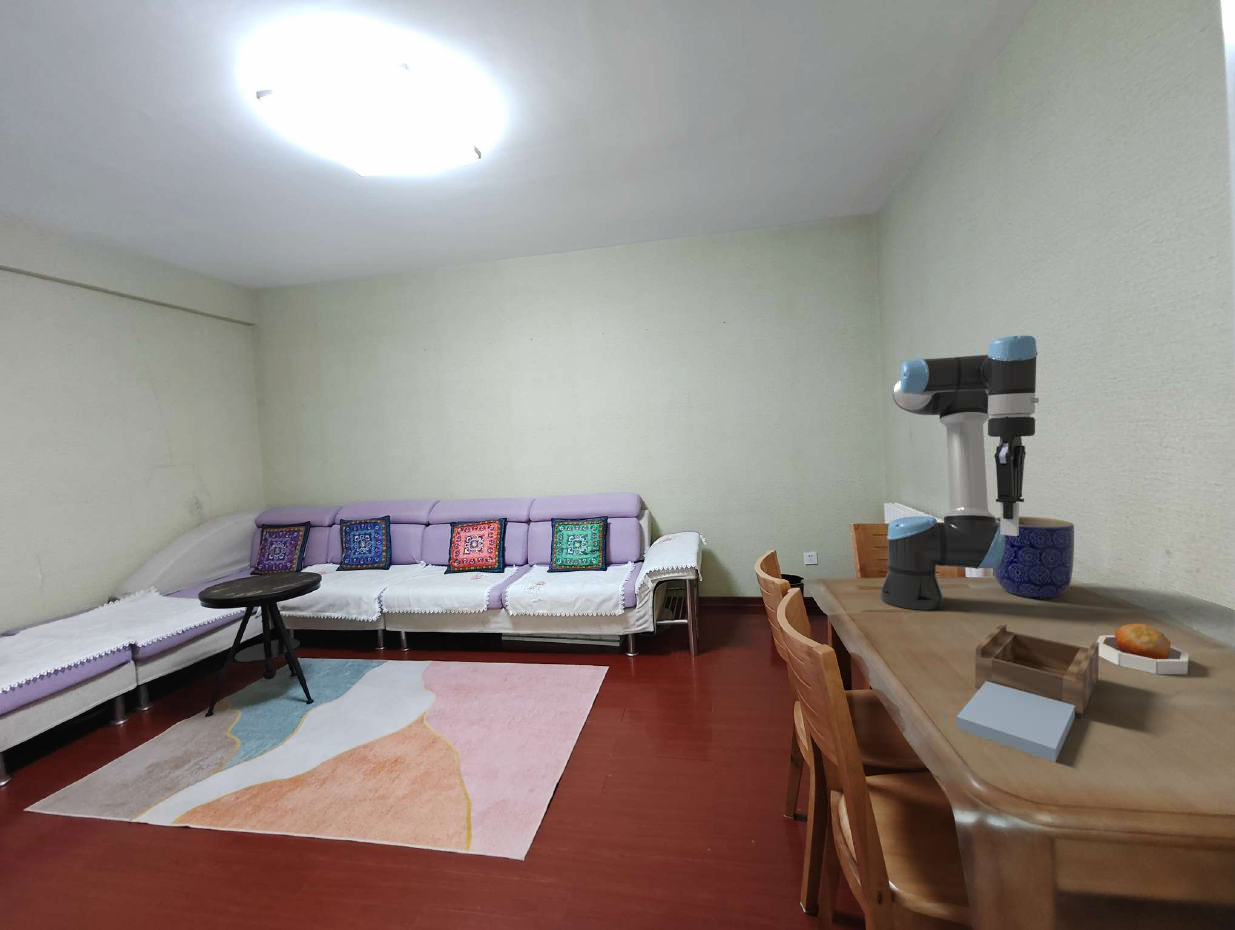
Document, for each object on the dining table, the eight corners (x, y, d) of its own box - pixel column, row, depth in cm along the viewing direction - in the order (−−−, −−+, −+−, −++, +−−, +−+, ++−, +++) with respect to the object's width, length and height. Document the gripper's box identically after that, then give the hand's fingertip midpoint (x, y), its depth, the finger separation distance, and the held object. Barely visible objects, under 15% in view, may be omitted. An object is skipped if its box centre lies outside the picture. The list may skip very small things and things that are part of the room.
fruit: (1148, 643, 112) (1161, 618, 108) (1168, 676, 106) (1183, 651, 101) (1100, 639, 115) (1112, 615, 110) (1117, 672, 108) (1130, 647, 104)
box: (1001, 658, 110) (1001, 622, 110) (1097, 681, 99) (1098, 642, 99) (975, 687, 98) (975, 647, 98) (1081, 718, 87) (1082, 673, 87)
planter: (1091, 602, 142) (1093, 526, 141) (1022, 604, 143) (1023, 528, 141) (1037, 582, 161) (1039, 515, 159) (976, 584, 161) (977, 517, 160)
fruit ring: (1093, 659, 108) (1093, 647, 108) (1102, 641, 117) (1102, 630, 117) (1186, 680, 99) (1186, 667, 98) (1188, 659, 107) (1189, 647, 107)
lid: (985, 694, 97) (986, 681, 97) (1074, 720, 88) (1075, 705, 88) (956, 731, 86) (956, 716, 85) (1055, 765, 76) (1055, 748, 76)
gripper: (1026, 415, 98) (1024, 542, 99) (1042, 415, 106) (1040, 532, 108) (979, 417, 103) (977, 537, 105) (997, 417, 112) (995, 527, 113)
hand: (1009, 534), depth 106 cm, fingers closed
